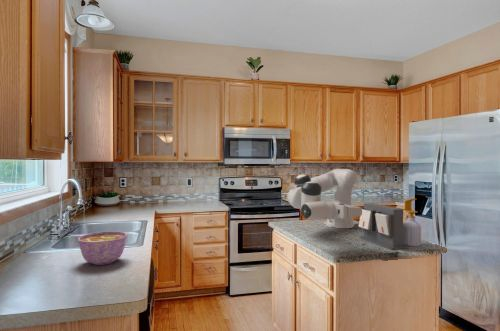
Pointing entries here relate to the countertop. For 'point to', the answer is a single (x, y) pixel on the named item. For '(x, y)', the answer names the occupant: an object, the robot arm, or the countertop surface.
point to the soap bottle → (411, 227)
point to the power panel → (395, 227)
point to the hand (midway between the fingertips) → (358, 208)
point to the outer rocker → (382, 223)
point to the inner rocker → (365, 219)
